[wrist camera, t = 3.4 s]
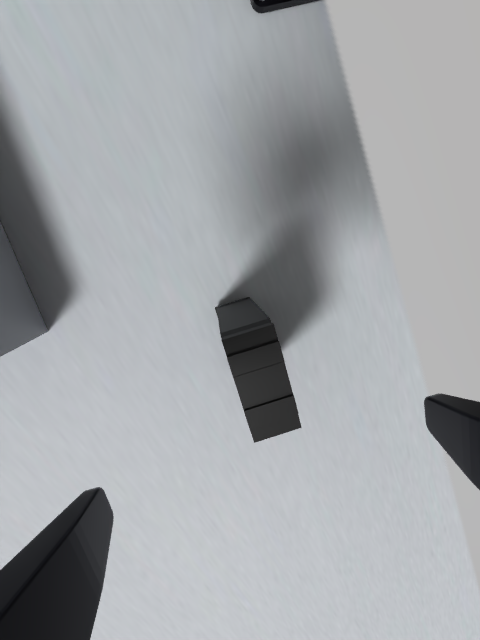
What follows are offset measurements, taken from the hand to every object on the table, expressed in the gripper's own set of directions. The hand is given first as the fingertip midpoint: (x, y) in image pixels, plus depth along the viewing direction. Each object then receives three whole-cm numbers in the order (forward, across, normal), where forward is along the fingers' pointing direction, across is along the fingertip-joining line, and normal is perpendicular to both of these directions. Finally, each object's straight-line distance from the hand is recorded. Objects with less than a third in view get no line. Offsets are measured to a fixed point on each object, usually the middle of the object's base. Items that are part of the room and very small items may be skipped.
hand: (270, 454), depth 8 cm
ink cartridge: (+12, -1, 0) cm, 12 cm away
